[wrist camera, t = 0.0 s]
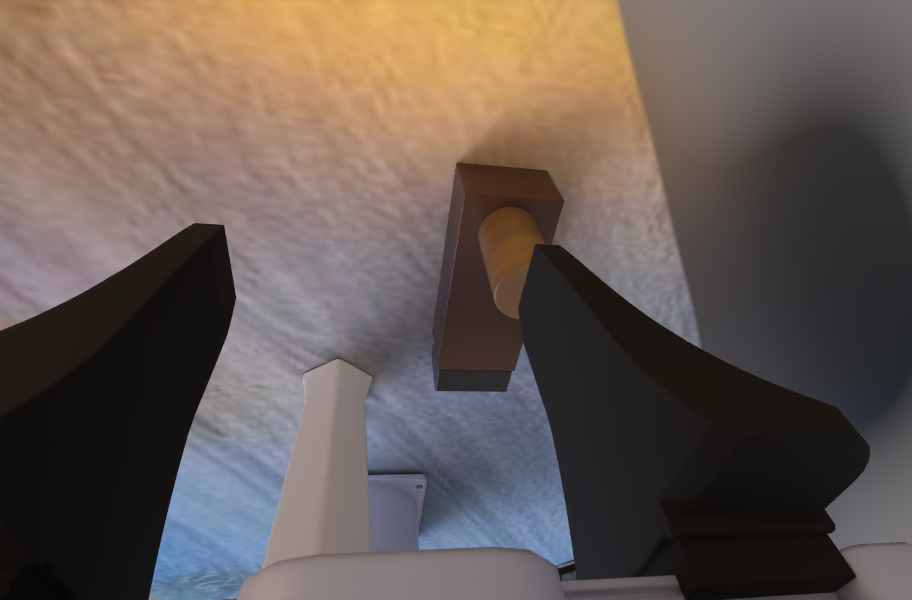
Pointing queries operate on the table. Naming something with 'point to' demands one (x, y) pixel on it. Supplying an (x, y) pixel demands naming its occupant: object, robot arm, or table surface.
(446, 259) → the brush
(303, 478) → the perfume bottle
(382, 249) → the table surface
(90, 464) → the robot arm
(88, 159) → the table surface
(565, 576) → the electric trimmer
